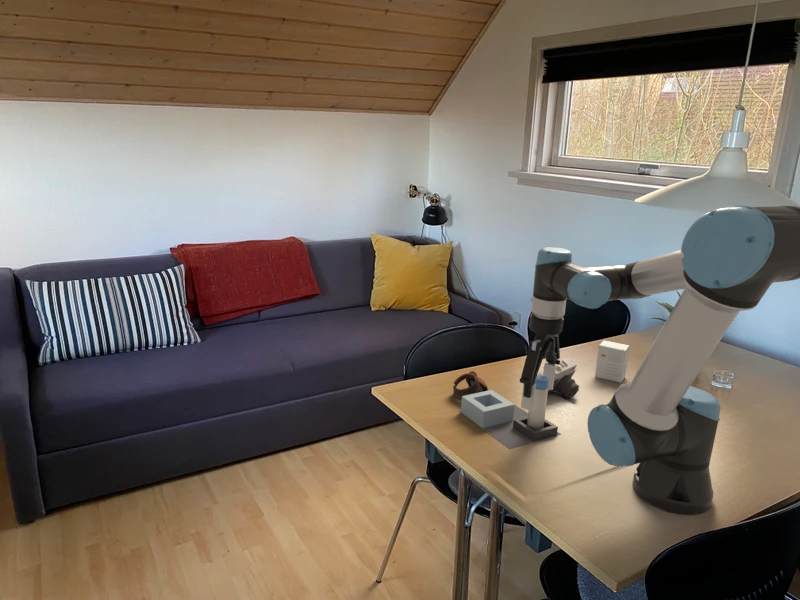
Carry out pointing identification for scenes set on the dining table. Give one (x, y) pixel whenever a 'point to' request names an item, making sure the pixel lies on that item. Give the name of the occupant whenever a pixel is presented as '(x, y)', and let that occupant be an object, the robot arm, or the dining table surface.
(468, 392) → the brown arched frame
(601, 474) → the dining table surface
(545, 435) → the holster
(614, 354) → the small box
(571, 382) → the camera
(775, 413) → the dining table surface
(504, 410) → the block
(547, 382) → the plug
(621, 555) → the dining table surface
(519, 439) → the mat
